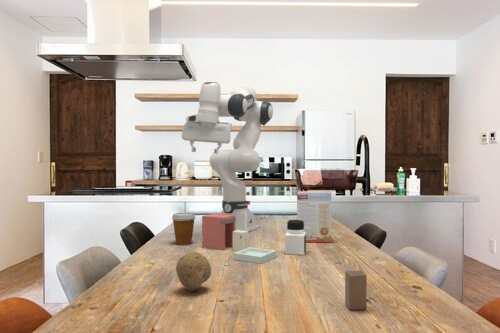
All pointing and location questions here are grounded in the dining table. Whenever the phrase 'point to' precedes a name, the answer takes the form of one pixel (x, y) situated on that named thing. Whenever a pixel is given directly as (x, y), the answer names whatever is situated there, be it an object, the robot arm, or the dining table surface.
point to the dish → (254, 255)
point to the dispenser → (217, 231)
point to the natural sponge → (193, 270)
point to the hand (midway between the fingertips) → (204, 152)
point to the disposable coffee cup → (183, 227)
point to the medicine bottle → (295, 238)
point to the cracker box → (315, 214)
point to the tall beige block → (240, 240)
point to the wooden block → (355, 290)
